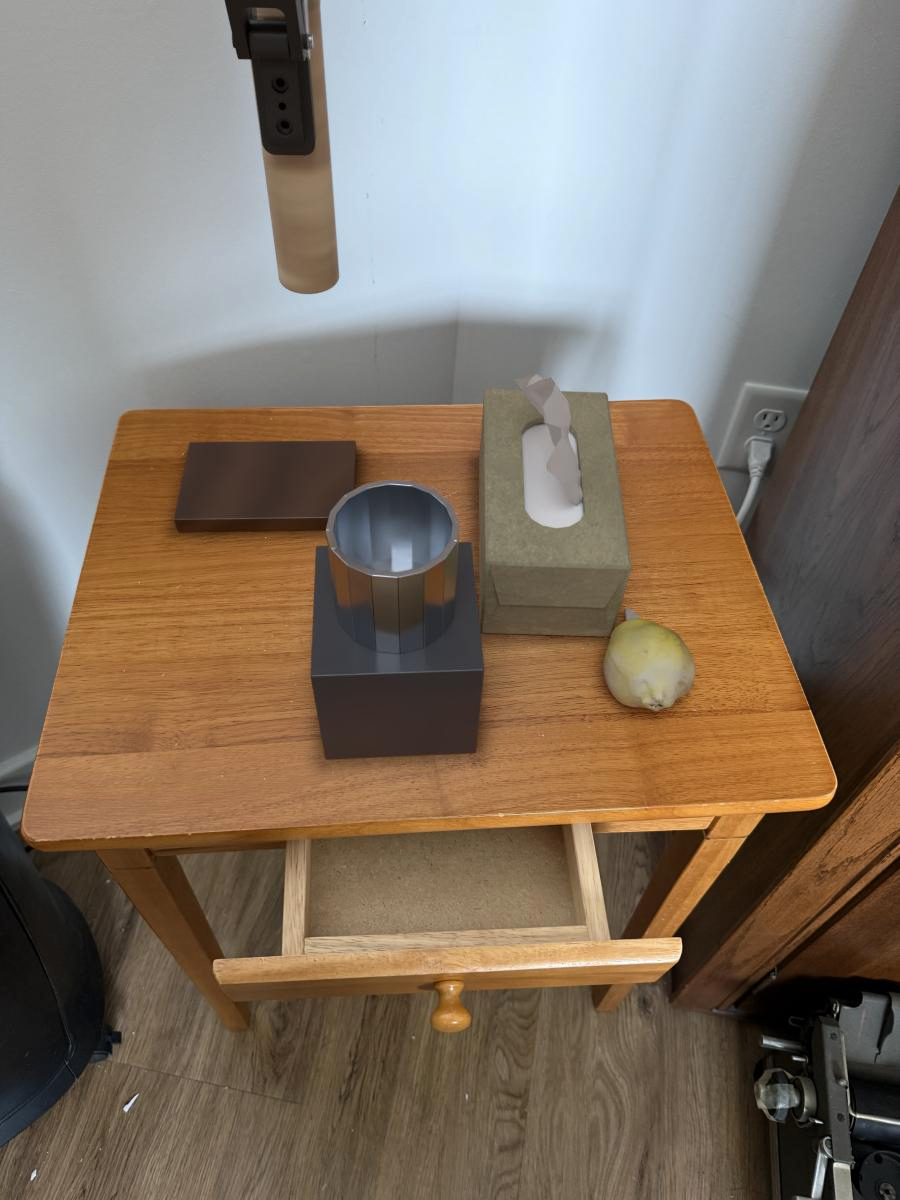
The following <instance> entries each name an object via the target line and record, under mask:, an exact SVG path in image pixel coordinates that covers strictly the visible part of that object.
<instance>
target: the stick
mask: <svg viewBox="0 0 900 1200" xmlns="http://www.w3.org/2000/svg"><path fill="white" fill-rule="evenodd" d="M256 9H257V19H258V20H279V21H285V16H284V13H283V12H282V11H281V10H279V9H276V8H256ZM308 16H309V31H310V34H313V49H310V68H311V80H312V92H313V104H314V116H315V128H316V143H315V148H314V151H313V152H312V153H311V154H309V155H306V156H299V155H272V154H270V153H268V152H267V151H266V150H265V149H264V147H263V145H262V138H261V131H260V123H259V115H258V108H257V100H256V92H255V84H254V77H253V69H252V61H251V60H249V62H250V69H251V77H252V83H253V84H252V85H253V92H254V99H255V107H256V115H257V123H258V131H259V138H260V139H259V140H260V146H261V153H262V160H263V161H262V162H263V170H264V177H265V184H266V192H267V198H268V207H269V214H270V222H271V231H272V238H273V245H274V252H275V260H276V261H275V262H276V267H277V275H278V282H279V283H280V284H281V285H282V287H284V289H285V290H288V291H289V292H291V293H295V294H301V295H315V294H320V293H324V292H327V291H329V290H331V289H333V288H334V287H335V286H336V285H337V283H338V282H339V280H340V265H339V263H340V262H339V250H338V235H337V224H336V223H337V222H336V208H335V207H336V206H335V193H334V180H333V167H332V166H333V165H332V153H331V152H332V151H331V139H330V137H331V136H330V123H329V122H330V121H329V109H328V108H329V107H328V93H327V82H326V69H325V67H326V66H325V65H326V64H325V53H324V51H325V50H324V39H323V38H324V37H323V26H322V25H323V24H322V12H321V4H320V2H319V0H308Z"/></svg>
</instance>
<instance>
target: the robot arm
mask: <svg viewBox="0 0 900 1200" xmlns="http://www.w3.org/2000/svg"><path fill="white" fill-rule="evenodd" d="M223 2H224V4H225V9H226V13H227V18H228V22H229V23H228V24H229V26H230V27H229V28H230V32H231V44H232V48H233V49H235V53H236V58H237V60H242V61H243V60H245V61H246V60H247V61H250V60H251V61H252V69H253V77H254V84H255V92H256V100H257V108H258V115H259V123H260V131H261V138H262V145H263V147H264V149H265V150H266V151H267V152H268V153H270V154H272V155H299V156H306V155H309V154H311V153H312V152H313V151H314V148H315V143H316V128H315V116H314V104H313V92H312V80H311V68H310V49H313V34H310V31H309V16H308V0H224V1H223ZM319 2H320V5H321V0H319ZM256 8H276V9H279V10H281V11H282V12H283V13H284V16H285V21H279V20H258V19H257V9H256ZM253 77H252V78H253ZM256 100H255V101H256ZM257 108H256V109H257ZM259 123H258V124H259ZM260 131H259V132H260Z"/></svg>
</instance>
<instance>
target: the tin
mask: <svg viewBox="0 0 900 1200" xmlns="http://www.w3.org/2000/svg"><path fill="white" fill-rule="evenodd" d="M460 523H461V522H460V520H459V518H458V515H457V513H456V510H455V508H454V506H453V504H452V503H451V502H450V501H449V500H447V499H446V498H445V497H444V496H443V495H442V494H441V493H440V492H439V491H438V490H436V489H434V488H431V487H430V486H427V485H424V484H421V483H418V482H416V481H412V480H400V479H384V480H378V481H373V482H369V483H365V484H362V485H360V486H359V487H356V489H355V490H353V491H351V492H349V493H347V494H346V495H344V496H343V497H342V498H341V499H340V501H339V502H338V503H337V504H336V505H335V507H334V508H333V509H332V510H331V512H330V514H329V519H328V523H327V527H326V530H325V536H326V537H325V538H326V546H328V553H329V561H330V569H331V577H332V586H333V594H334V602H335V609H336V613H337V616H338V620H339V623H340V626H341V628H342V629H343V630H344V631H345V632H346V633H347V634H348V635H349V636H350V637H351V638H352V639H353V640H354V641H355V642H356V643H358V644H360V645H363V646H365V647H367V648H369V649H371V650H374V651H377V652H386V653H398V654H400V653H405V652H410V651H414V650H418V649H422V648H423V647H424V648H425V647H426V646H428V645H429V644H431V643H432V642H434V641H435V640H437V639H438V638H440V637H441V636H442V635H443V634H444V633H445V631H446V630H447V628H448V627H449V625H450V624H451V622H452V620H453V618H454V612H455V602H456V584H457V565H458V545H459V542H460Z"/></svg>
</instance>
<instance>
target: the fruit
mask: <svg viewBox="0 0 900 1200" xmlns="http://www.w3.org/2000/svg"><path fill="white" fill-rule="evenodd" d="M624 616H625V620H624V621H622V622H621V623H619V624H618V625H617V626H615V627H614V630H613V632H612V634H611V636H610V637H609V641H608V645H607V648H606V652H605V654H604V658H603V668H602V669H603V675H604V680H605V683H606V685H607V688H608V690H609V692H610V693H611V694H612V696H613V697H614V699H615V700H616V701H617V702H618V703H620V704H621V705H624V706H627V707H631V708H644V709H648V710H652V711H654V712H659V711H662V710H663V709H668V708H671V707H672V706H673V705H674V703H675V702H676V701H677V700H678V699H680V698H682V697H683V696H685V695H686V694H687V693H689V692H690V691H691V689H692V688H693V685H694V682H695V680H696V674H697V673H696V663H695V660H694V657H693V655H692V653H691V651H690V649H689V647H688V646H687V644H686V642H685V641H684V640H683V638H682V637H681V636H680V634H678V633H677V632H676V631H674V630H673V629H671V628H669V627H666V626H664V625H661V624H659V623H658V622H656V621H653V620H650V619H646V618H641V617H640V616H639V614H638V613H636V612H635V611H634V610H633V609H632V608H630V607H625V608H624Z"/></svg>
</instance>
